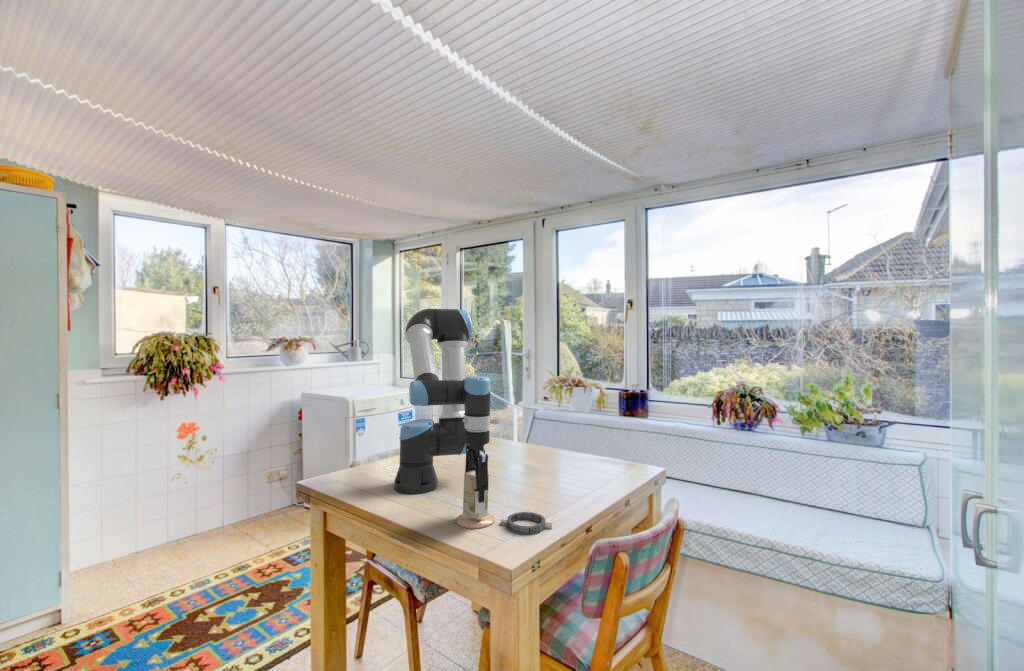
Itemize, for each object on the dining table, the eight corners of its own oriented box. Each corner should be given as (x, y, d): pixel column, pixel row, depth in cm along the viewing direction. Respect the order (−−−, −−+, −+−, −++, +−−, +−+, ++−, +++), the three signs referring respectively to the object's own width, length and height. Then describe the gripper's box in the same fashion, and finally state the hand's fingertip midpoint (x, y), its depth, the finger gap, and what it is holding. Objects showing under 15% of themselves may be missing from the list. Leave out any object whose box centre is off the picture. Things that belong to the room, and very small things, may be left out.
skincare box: (462, 514, 132) (462, 472, 132) (472, 509, 136) (472, 469, 136) (479, 519, 128) (479, 476, 128) (488, 515, 132) (489, 473, 132)
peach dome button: (452, 527, 127) (452, 525, 127) (461, 512, 138) (461, 510, 138) (490, 530, 126) (490, 528, 126) (497, 514, 137) (497, 512, 137)
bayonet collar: (498, 532, 125) (498, 525, 125) (503, 516, 135) (503, 510, 135) (550, 535, 123) (551, 529, 123) (552, 519, 133) (552, 513, 133)
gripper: (455, 423, 140) (454, 497, 140) (475, 437, 121) (473, 523, 121) (478, 422, 143) (477, 494, 143) (501, 435, 124) (500, 519, 124)
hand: (475, 507), depth 132 cm, fingers closed on skincare box, 7 cm apart
